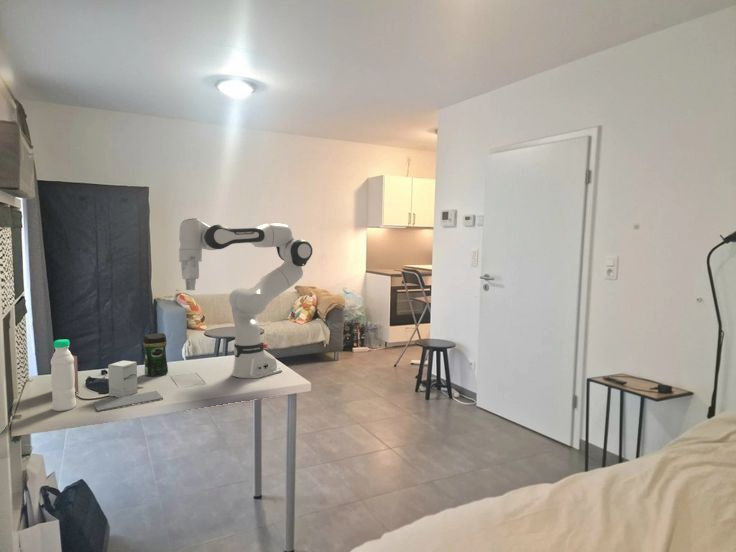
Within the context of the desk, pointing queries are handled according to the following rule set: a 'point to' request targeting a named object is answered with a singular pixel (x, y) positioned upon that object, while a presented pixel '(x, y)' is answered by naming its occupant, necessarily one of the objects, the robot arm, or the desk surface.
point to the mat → (127, 400)
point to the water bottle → (63, 377)
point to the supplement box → (122, 378)
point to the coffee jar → (155, 354)
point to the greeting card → (75, 373)
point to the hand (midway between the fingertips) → (190, 290)
